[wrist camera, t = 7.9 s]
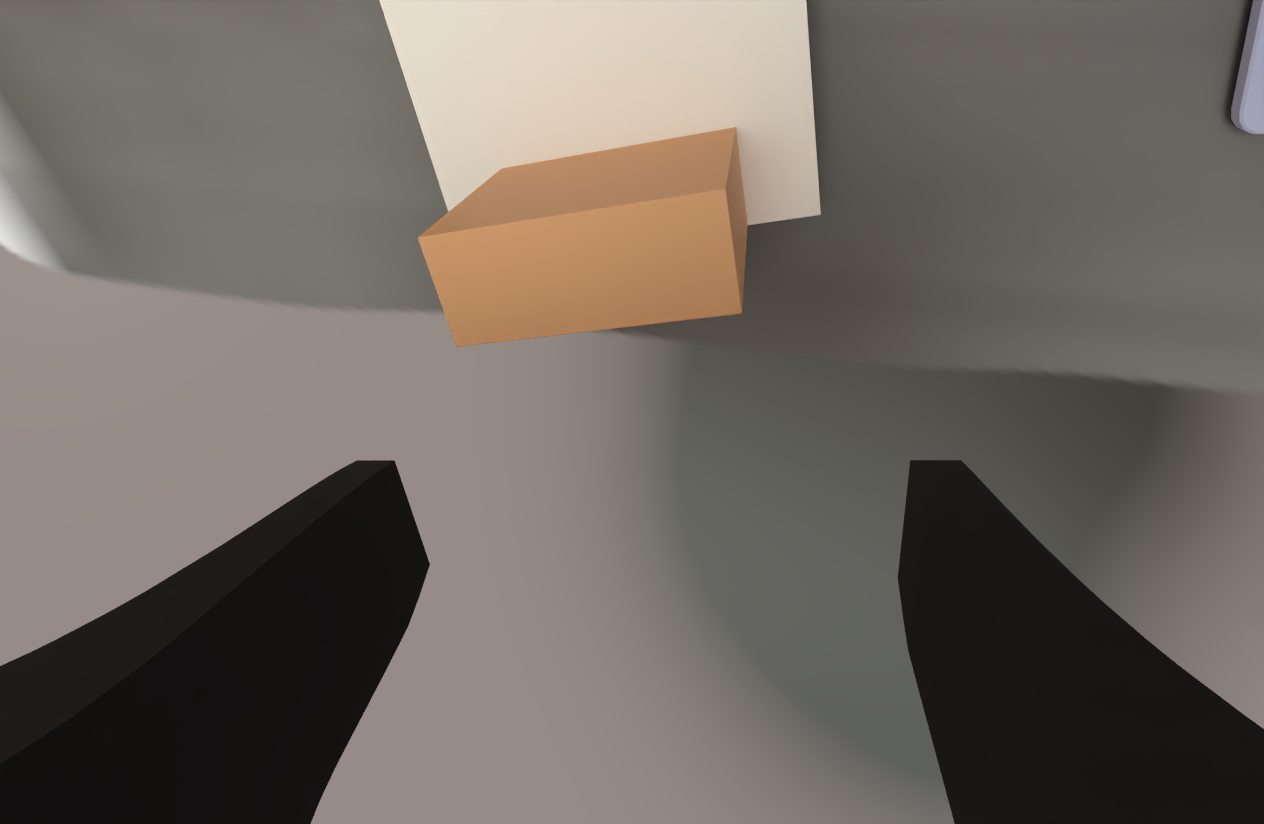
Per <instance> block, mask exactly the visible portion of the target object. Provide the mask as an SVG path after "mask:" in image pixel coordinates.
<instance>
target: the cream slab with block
mask: <svg viewBox="0 0 1264 824" xmlns="http://www.w3.org/2000/svg"><path fill="white" fill-rule="evenodd" d="M380 3H381V7H382V10H383V13H384V16H385V19H386V22H387V25H388V28H389V31H390V34H391V37H392V40H393V43H394V46H395V49H396V53H397V56H398V59H399V62H400V65H401V68H402V71H403V74H404V77H405V80H406V83H407V86H408V89H409V92H410V95H411V99H412V102H413V105H414V108H415V111H416V114H417V117H418V120H419V123H420V126H421V129H422V132H423V135H424V138H425V141H426V145H427V148H428V151H429V154H430V157H431V160H432V163H433V166H434V169H435V172H436V175H437V178H438V181H439V184H440V188H441V191H442V194H443V197H444V200H445V203H446V206H447V209H448V213H447V214H446V215H444V216H443V217H442V218H441V219H439V220H438V221H437V222H436V223H435V224H433V225H432V226H431V227H430V228H428V229H427V230H426V231H425V232H424V233H422V234H421V235H420V236H419V237H418V240H419V243H420V245H421V248H422V251H423V254H424V257H425V260H426V262H427V265H428V268H429V271H430V274H431V277H432V279H433V282H434V285H435V288H436V291H437V293H438V296H439V299H440V302H441V305H442V308H443V310H444V313H445V316H446V319H447V321H448V324H449V327H450V330H451V333H452V336H453V339H454V341H455V344H456V347H461V346H469V345H477V344H485V343H495V342H502V341H512V340H519V339H529V338H537V337H546V336H554V335H563V334H570V333H580V332H588V331H597V330H605V329H614V328H622V327H631V326H639V325H648V324H656V323H665V322H673V321H682V320H690V319H699V318H707V317H716V316H724V315H733V314H741V313H742V303H743V288H744V273H745V259H746V244H747V229H748V225H753V224H760V223H767V222H774V221H781V220H788V219H795V218H801V217H808V216H815V215H821V212H820V197H819V182H818V167H817V153H816V138H815V123H814V108H813V94H812V79H811V64H810V49H809V35H808V20H807V5H806V0H380Z"/></svg>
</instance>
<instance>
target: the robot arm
mask: <svg viewBox="0 0 1264 824" xmlns="http://www.w3.org/2000/svg"><path fill="white" fill-rule="evenodd" d="M1231 119H1232V121H1233V123H1234V124H1235V126H1236V127H1238V128H1240V129H1242V130H1243V131H1246V132H1249V133H1251V134H1264V0H1253V4H1252V9H1251V14H1250V19H1249V24H1248V29H1247V33H1246V38H1245V43H1244V48H1243V53H1242V58H1241V63H1240V68H1239V73H1238V78H1237V83H1236V88H1235V93H1234V98H1233V103H1232V108H1231ZM429 565H430V564H429V561H428V558H427V555H426V552H425V549H424V546H423V543H422V540H421V537H420V534H419V532H418V528H417V525H416V522H415V520H414V516H413V514H412V511H411V508H410V505H409V502H408V499H407V496H406V493H405V490H404V487H403V484H402V481H401V478H400V475H399V472H398V470H397V467H396V464H395V461H355V462H353V463H352V464H350V465H348V466H346V467H344V468H342V469H340V470H339V471H337V472H335V473H333V474H332V475H330V476H328V477H327V478H325V479H324V480H322V481H320V482H319V483H317V484H316V485H314V486H312V487H311V488H309V489H308V490H306V491H305V492H303V493H301V494H300V495H298V496H297V497H295V498H294V499H292V500H291V501H289V502H287V503H286V504H284V505H283V506H281V507H280V508H278V509H277V510H275V511H274V512H272V513H271V514H269V515H268V516H266V517H264V518H263V519H262V520H260V521H258V522H257V523H255V524H254V525H252V526H251V527H249V528H247V529H246V530H244V531H243V532H241V533H240V534H239V535H237V536H235V537H234V538H232V539H230V540H229V541H227V542H226V543H224V544H223V545H221V546H220V547H218V548H216V549H215V550H213V551H211V552H210V553H208V554H206V555H205V556H203V557H202V558H200V559H198V560H197V561H195V562H193V563H192V564H190V565H188V566H187V567H185V568H183V569H182V570H180V571H178V572H177V573H175V574H174V575H172V576H170V577H169V578H167V579H165V580H164V581H162V582H160V583H159V584H157V585H155V586H154V587H152V588H151V589H149V590H147V591H145V592H144V593H142V594H140V595H138V596H137V597H135V598H133V599H132V600H130V601H128V602H126V603H124V604H123V605H121V606H119V607H117V608H115V609H114V610H112V611H110V612H108V613H106V614H104V615H103V616H101V617H99V618H97V619H95V620H93V621H91V622H89V623H88V624H85V625H83V626H81V627H80V628H78V629H76V630H74V631H72V632H70V633H68V634H66V635H64V636H62V637H61V638H58V639H57V640H55V641H53V642H51V643H49V644H47V645H45V646H43V647H41V648H38V649H36V650H35V651H32V652H30V653H28V654H26V655H24V656H21V657H19V658H17V659H15V660H13V661H11V662H8V663H6V664H4V665H2V666H0V824H311V821H312V818H313V816H314V813H315V811H316V808H317V806H318V804H319V801H320V799H321V797H322V795H323V792H324V790H325V788H326V786H327V784H328V782H329V780H330V778H331V776H332V773H333V771H334V769H335V767H336V765H337V763H338V761H339V759H340V757H341V755H342V753H343V752H344V750H345V748H346V746H347V744H348V742H349V740H350V738H351V736H352V734H353V732H354V730H355V728H356V727H357V725H358V723H359V721H360V719H361V717H362V715H363V713H364V711H365V709H366V707H367V706H368V704H369V702H370V700H371V698H372V696H373V694H374V692H375V690H376V688H377V686H378V684H379V682H380V681H381V679H382V677H383V675H384V673H385V671H386V669H387V667H388V665H389V663H390V661H391V659H392V657H393V655H394V653H395V651H396V649H397V647H398V645H399V643H400V641H401V639H402V637H403V635H404V633H405V631H406V629H407V627H408V625H409V622H410V620H411V617H412V614H413V612H414V609H415V606H416V603H417V601H418V598H419V595H420V592H421V589H422V586H423V583H424V580H425V577H426V574H427V571H428V568H429ZM898 582H899V590H900V597H901V605H902V612H903V619H904V626H905V633H906V639H907V646H908V651H909V655H910V659H911V662H912V666H913V670H914V674H915V677H916V681H917V685H918V688H919V693H920V697H921V700H922V704H923V708H924V711H925V715H926V719H927V723H928V726H929V730H930V734H931V737H932V741H933V745H934V749H935V752H936V756H937V759H938V763H939V767H940V771H941V774H942V778H943V782H944V785H945V789H946V793H947V797H948V800H949V804H950V808H951V811H952V815H953V819H954V823H955V824H1264V729H1263V728H1261V727H1260V726H1259V725H1257V724H1256V723H1254V722H1253V721H1252V720H1250V719H1249V718H1247V717H1246V716H1245V715H1243V714H1242V713H1241V712H1239V711H1238V710H1237V709H1235V708H1234V707H1233V706H1231V705H1230V704H1229V703H1228V702H1226V701H1225V700H1224V699H1222V698H1221V697H1220V696H1218V695H1217V694H1216V693H1214V692H1213V691H1212V690H1210V689H1209V688H1208V687H1206V686H1205V685H1204V684H1202V683H1201V682H1200V681H1198V680H1197V679H1196V678H1194V677H1193V676H1192V675H1190V674H1189V673H1188V672H1186V671H1185V670H1184V669H1183V668H1181V667H1180V666H1179V665H1177V664H1176V663H1175V662H1174V661H1172V660H1171V659H1170V658H1169V657H1167V656H1166V655H1165V654H1164V653H1162V652H1161V651H1160V650H1159V649H1157V648H1156V647H1155V646H1154V645H1153V644H1151V643H1150V642H1149V641H1148V640H1146V639H1145V638H1144V637H1143V636H1142V635H1141V634H1140V633H1138V632H1137V631H1136V630H1135V629H1134V628H1133V627H1131V626H1130V625H1129V624H1128V623H1127V622H1126V621H1124V620H1123V619H1122V618H1121V617H1120V616H1119V615H1117V614H1116V613H1115V612H1114V611H1113V610H1112V609H1111V608H1109V607H1108V606H1107V605H1106V604H1105V603H1104V602H1102V601H1101V600H1100V599H1099V598H1098V597H1097V596H1096V595H1095V594H1094V593H1093V592H1091V591H1090V590H1089V589H1088V588H1087V587H1086V586H1085V585H1084V584H1083V583H1082V582H1081V581H1080V580H1078V578H1077V577H1076V576H1074V575H1073V574H1072V573H1071V572H1070V571H1069V570H1068V569H1067V568H1066V567H1065V566H1064V565H1063V564H1062V563H1061V562H1060V561H1059V560H1058V559H1057V558H1056V557H1055V556H1054V555H1053V554H1051V553H1050V552H1049V551H1048V550H1047V549H1046V548H1045V547H1044V546H1043V545H1042V544H1041V543H1040V542H1039V541H1038V540H1037V539H1036V538H1035V537H1034V536H1033V535H1032V534H1031V533H1030V532H1029V531H1028V530H1027V529H1026V528H1025V527H1024V526H1023V524H1022V523H1021V522H1020V521H1019V520H1018V519H1017V518H1016V517H1015V516H1014V515H1013V514H1012V513H1011V512H1010V511H1009V510H1008V509H1007V508H1006V507H1005V506H1004V505H1003V504H1002V503H1001V502H1000V501H999V500H998V498H997V497H996V496H995V495H994V494H993V493H992V492H991V491H990V490H989V489H988V488H987V487H986V486H985V485H984V484H983V482H982V481H981V480H980V479H979V478H978V477H977V476H976V475H975V474H974V473H973V472H972V471H971V470H970V469H969V468H968V467H967V466H966V465H965V464H964V463H963V462H962V461H959V460H952V461H951V460H948V461H944V460H943V461H940V460H938V461H937V460H932V461H931V460H928V461H927V460H926V461H925V460H922V461H920V460H915V461H913V460H912V461H910V469H909V478H908V487H907V496H906V506H905V515H904V525H903V534H902V543H901V553H900V562H899V572H898Z"/></svg>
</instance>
